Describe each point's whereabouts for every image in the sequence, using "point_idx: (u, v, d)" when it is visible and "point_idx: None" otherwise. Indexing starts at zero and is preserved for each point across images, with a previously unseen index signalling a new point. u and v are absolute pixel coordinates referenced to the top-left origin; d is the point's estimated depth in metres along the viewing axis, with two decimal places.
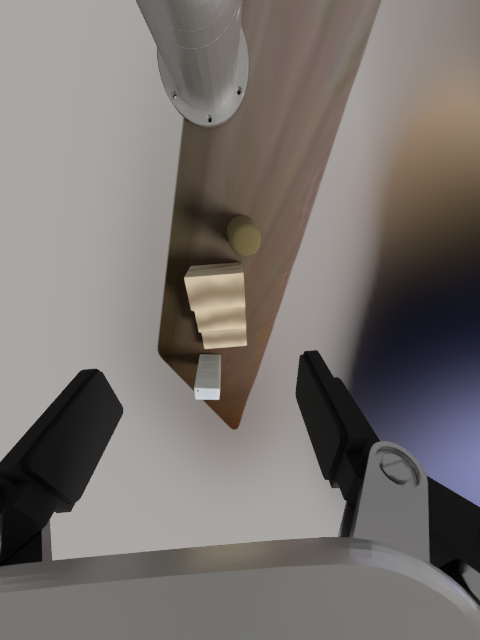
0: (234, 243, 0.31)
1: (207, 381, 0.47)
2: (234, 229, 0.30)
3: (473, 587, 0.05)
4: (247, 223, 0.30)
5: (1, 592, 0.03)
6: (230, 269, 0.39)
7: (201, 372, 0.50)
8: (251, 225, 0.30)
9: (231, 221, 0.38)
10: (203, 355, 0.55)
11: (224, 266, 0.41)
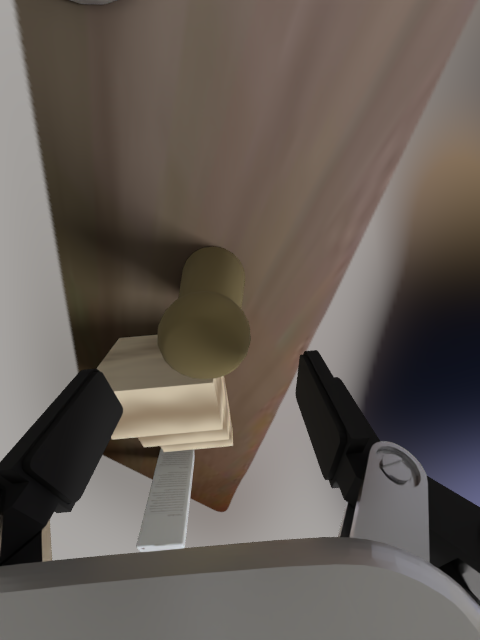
0: (169, 359, 0.10)
1: (163, 524, 0.27)
2: (166, 322, 0.10)
3: (473, 588, 0.05)
4: (206, 305, 0.10)
5: (1, 592, 0.03)
6: None
7: (155, 498, 0.30)
8: (218, 311, 0.10)
9: (188, 261, 0.17)
10: None
11: None
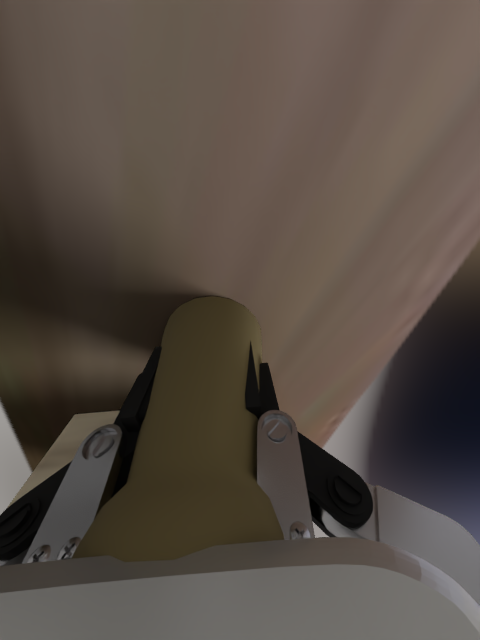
0: None
1: None
2: None
3: (326, 522, 0.06)
4: None
5: (2, 592, 0.03)
6: None
7: None
8: None
9: (171, 322, 0.10)
10: None
11: None
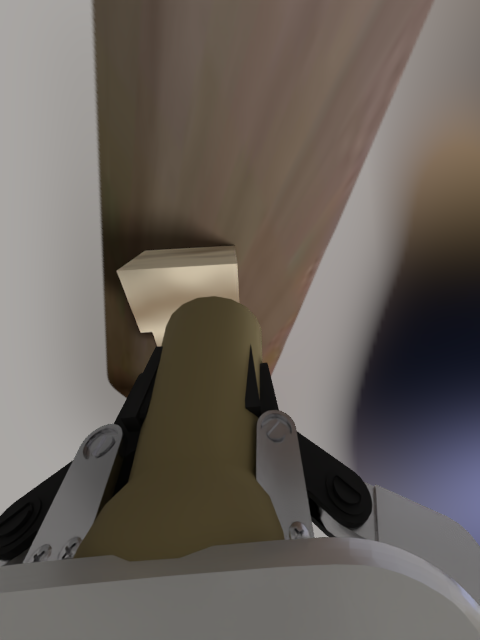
0: None
1: None
2: None
3: (326, 522, 0.06)
4: None
5: (1, 592, 0.03)
6: (213, 257, 0.21)
7: None
8: None
9: (173, 322, 0.10)
10: None
11: (203, 251, 0.23)
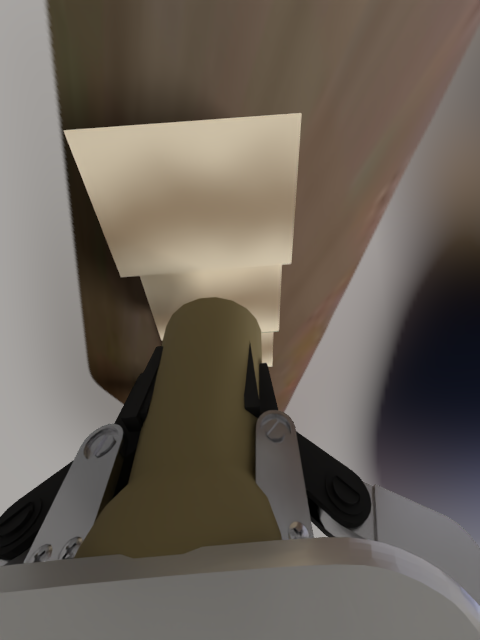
0: None
1: None
2: None
3: (325, 522, 0.06)
4: None
5: (1, 592, 0.03)
6: None
7: None
8: None
9: (173, 322, 0.10)
10: None
11: None
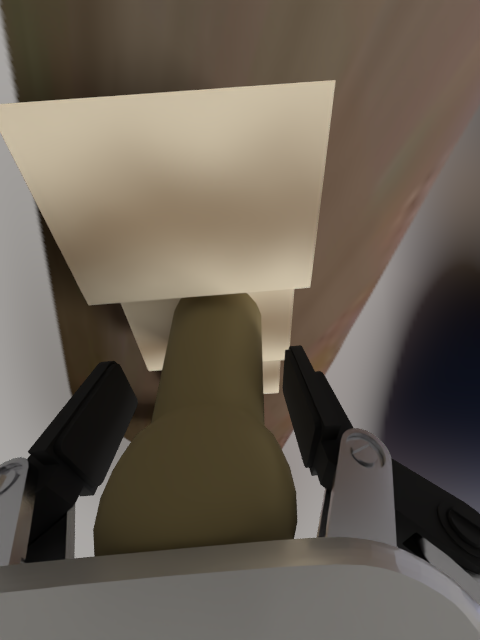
0: None
1: None
2: (108, 528, 0.04)
3: (432, 561, 0.05)
4: (208, 492, 0.04)
5: (1, 592, 0.03)
6: None
7: None
8: (239, 510, 0.04)
9: (181, 305, 0.12)
10: None
11: None
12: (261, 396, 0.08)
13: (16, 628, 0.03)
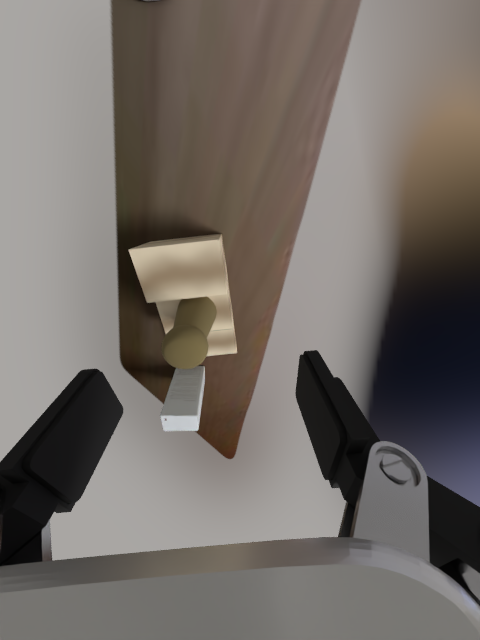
0: (167, 358, 0.21)
1: (180, 405, 0.34)
2: (165, 340, 0.21)
3: (473, 587, 0.05)
4: (184, 332, 0.21)
5: (1, 592, 0.03)
6: (202, 238, 0.26)
7: (174, 392, 0.36)
8: (189, 335, 0.21)
9: (180, 302, 0.29)
10: None
11: (196, 237, 0.28)
12: (205, 328, 0.25)
13: (16, 628, 0.03)
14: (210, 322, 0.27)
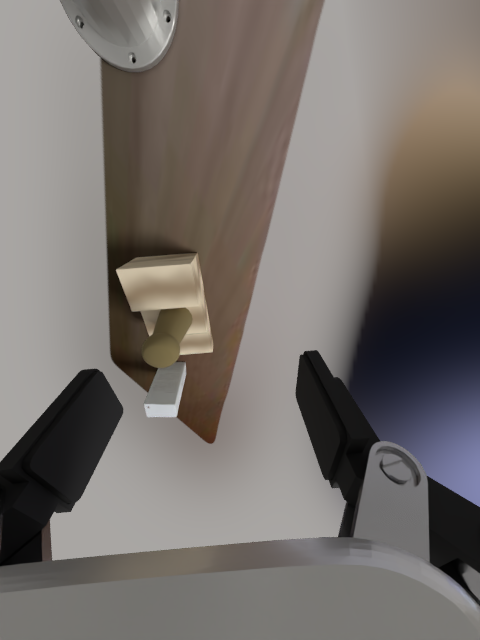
0: (145, 359, 0.27)
1: (161, 395, 0.40)
2: (144, 345, 0.27)
3: (473, 587, 0.05)
4: (159, 340, 0.27)
5: (1, 592, 0.03)
6: (178, 260, 0.32)
7: (157, 384, 0.42)
8: (163, 342, 0.27)
9: (161, 311, 0.34)
10: None
11: (174, 257, 0.34)
12: (178, 335, 0.31)
13: (16, 627, 0.03)
14: (184, 329, 0.33)
